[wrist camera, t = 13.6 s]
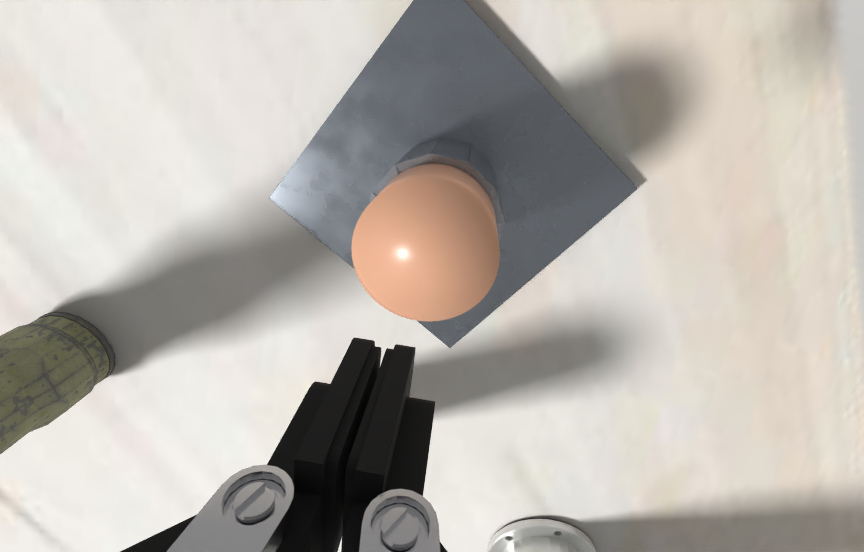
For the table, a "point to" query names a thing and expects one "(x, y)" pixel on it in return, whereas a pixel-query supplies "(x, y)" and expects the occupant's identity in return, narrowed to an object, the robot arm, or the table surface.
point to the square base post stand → (456, 148)
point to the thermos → (48, 371)
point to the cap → (428, 244)
